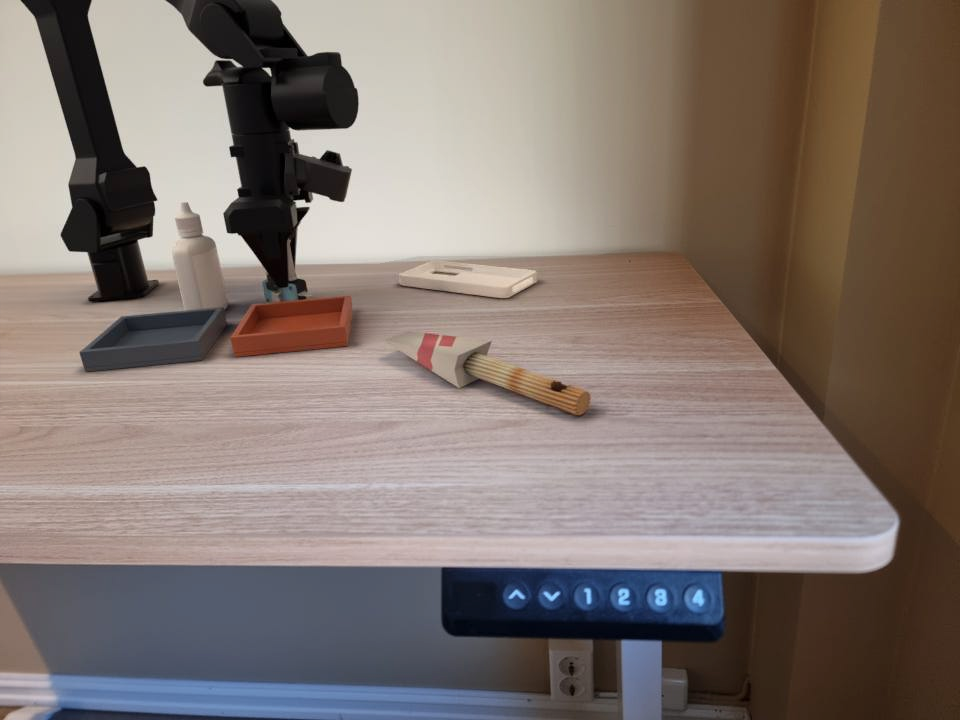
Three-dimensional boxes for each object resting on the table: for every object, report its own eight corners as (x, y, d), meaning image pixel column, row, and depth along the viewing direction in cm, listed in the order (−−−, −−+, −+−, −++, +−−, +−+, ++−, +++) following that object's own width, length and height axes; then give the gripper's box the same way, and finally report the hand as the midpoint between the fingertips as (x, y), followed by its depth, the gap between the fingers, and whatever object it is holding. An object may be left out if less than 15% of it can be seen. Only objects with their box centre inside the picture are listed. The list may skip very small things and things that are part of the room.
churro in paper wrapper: (411, 313, 60) (599, 377, 47) (413, 342, 61) (597, 412, 49) (376, 325, 58) (565, 396, 45) (379, 355, 59) (564, 432, 46)
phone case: (397, 285, 81) (506, 299, 73) (396, 274, 80) (506, 287, 72) (434, 270, 86) (539, 281, 79) (433, 259, 86) (538, 270, 78)
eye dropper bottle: (242, 308, 76) (220, 199, 71) (196, 323, 72) (169, 208, 67) (219, 302, 78) (197, 197, 74) (174, 316, 74) (147, 206, 70)
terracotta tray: (254, 321, 71) (251, 304, 70) (353, 312, 72) (350, 295, 71) (234, 357, 62) (230, 337, 61) (347, 346, 63) (344, 326, 62)
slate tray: (126, 333, 70) (121, 316, 69) (227, 324, 71) (223, 306, 70) (84, 372, 61) (78, 352, 60) (202, 360, 62) (198, 340, 61)
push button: (329, 299, 76) (314, 211, 72) (295, 317, 72) (277, 224, 68) (286, 291, 80) (270, 206, 75) (252, 308, 76) (232, 219, 71)
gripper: (334, 132, 61) (356, 298, 67) (346, 122, 78) (363, 255, 84) (206, 141, 60) (241, 309, 66) (247, 129, 77) (271, 263, 83)
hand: (286, 281), depth 75 cm, fingers closed on push button, 5 cm apart
